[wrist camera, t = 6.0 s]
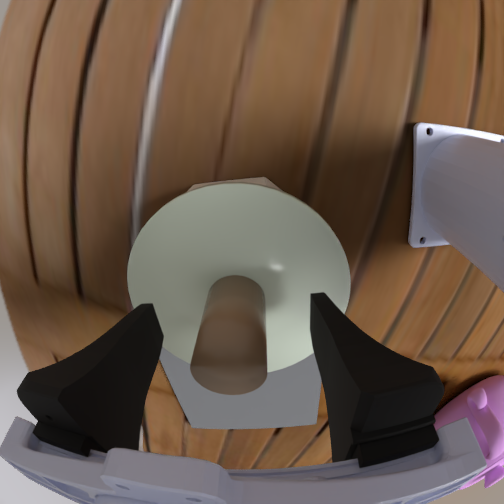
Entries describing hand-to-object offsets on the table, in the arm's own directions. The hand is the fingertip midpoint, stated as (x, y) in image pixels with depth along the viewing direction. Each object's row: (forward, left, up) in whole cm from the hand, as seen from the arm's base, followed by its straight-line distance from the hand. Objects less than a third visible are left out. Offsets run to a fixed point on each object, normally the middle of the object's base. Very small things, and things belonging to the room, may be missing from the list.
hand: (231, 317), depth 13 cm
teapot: (-30, +25, -6) cm, 40 cm away
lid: (0, +1, -3) cm, 3 cm away
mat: (+1, +13, -6) cm, 14 cm away
